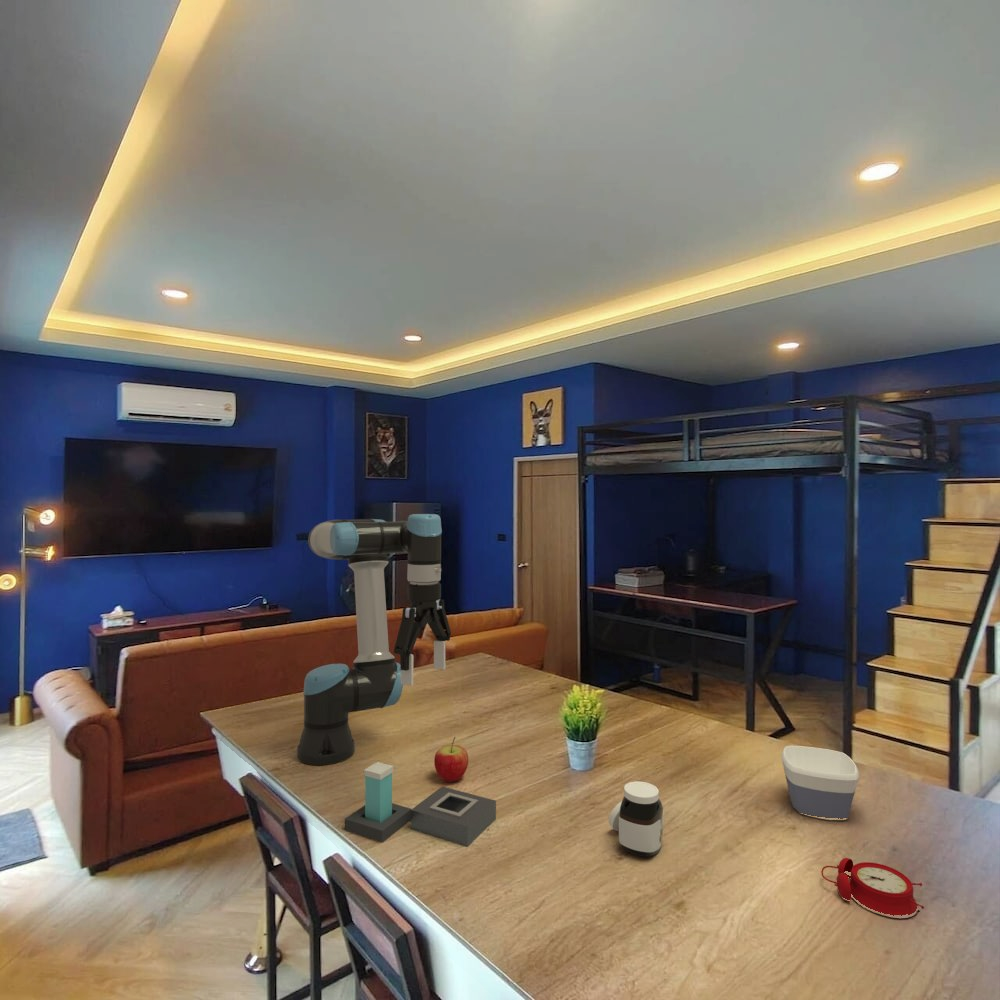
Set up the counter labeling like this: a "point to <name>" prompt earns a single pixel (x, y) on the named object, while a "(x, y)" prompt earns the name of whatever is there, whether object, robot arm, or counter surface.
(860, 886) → the alarm clock
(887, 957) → the counter surface
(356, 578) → the robot arm
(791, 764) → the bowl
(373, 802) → the plug
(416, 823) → the port
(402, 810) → the dark grey square frame
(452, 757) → the apple
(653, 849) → the spread jar
